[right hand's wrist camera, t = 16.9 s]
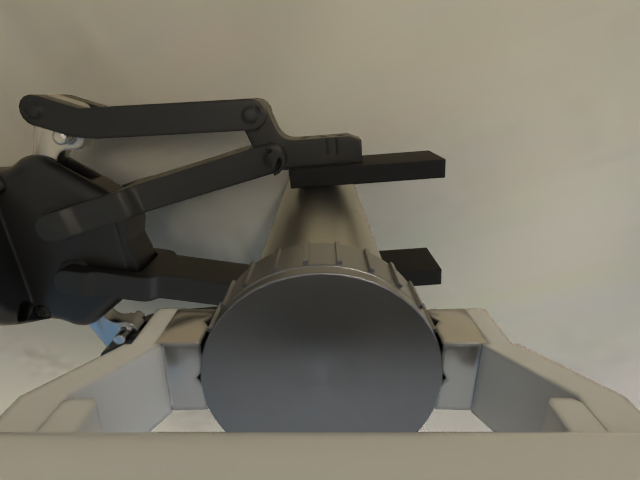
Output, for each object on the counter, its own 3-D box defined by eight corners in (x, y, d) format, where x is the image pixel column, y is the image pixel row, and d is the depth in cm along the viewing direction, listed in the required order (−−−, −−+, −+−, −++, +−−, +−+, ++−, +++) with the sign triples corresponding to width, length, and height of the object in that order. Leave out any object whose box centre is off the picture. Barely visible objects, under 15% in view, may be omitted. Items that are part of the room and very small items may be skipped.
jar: (278, 212, 25) (211, 411, 9) (297, 148, 24) (254, 257, 8) (341, 231, 26) (375, 451, 10) (363, 169, 24) (444, 312, 8)
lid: (386, 434, 11) (398, 490, 10) (200, 395, 11) (179, 447, 9) (458, 270, 9) (487, 306, 8) (238, 213, 9) (221, 240, 7)
